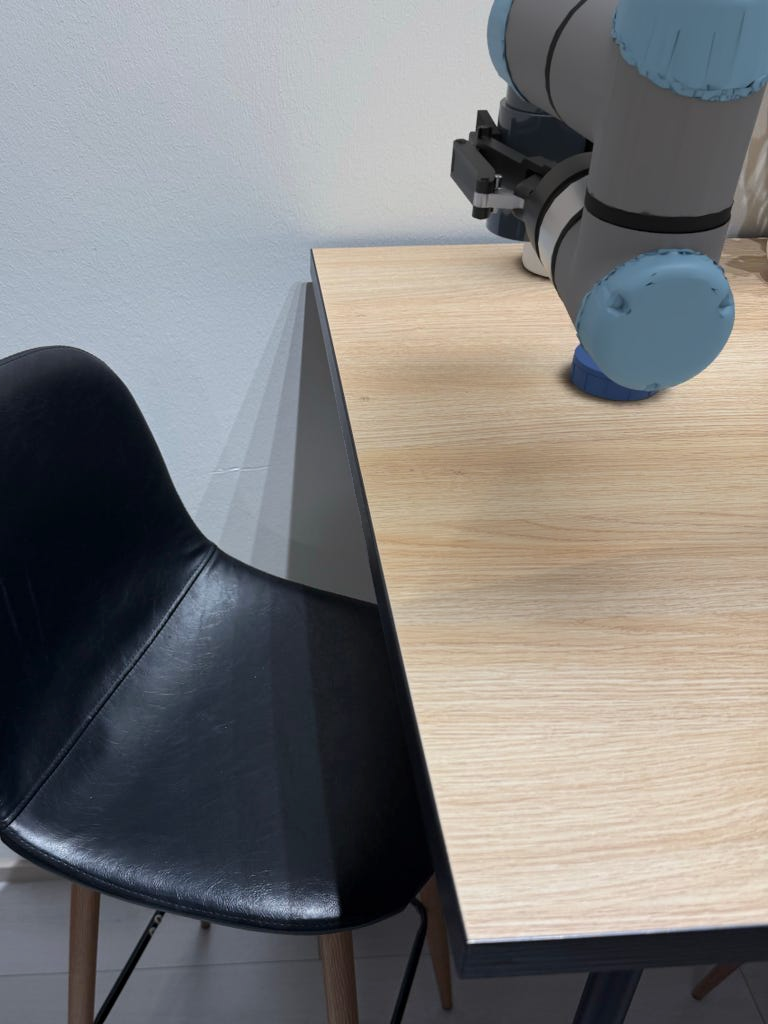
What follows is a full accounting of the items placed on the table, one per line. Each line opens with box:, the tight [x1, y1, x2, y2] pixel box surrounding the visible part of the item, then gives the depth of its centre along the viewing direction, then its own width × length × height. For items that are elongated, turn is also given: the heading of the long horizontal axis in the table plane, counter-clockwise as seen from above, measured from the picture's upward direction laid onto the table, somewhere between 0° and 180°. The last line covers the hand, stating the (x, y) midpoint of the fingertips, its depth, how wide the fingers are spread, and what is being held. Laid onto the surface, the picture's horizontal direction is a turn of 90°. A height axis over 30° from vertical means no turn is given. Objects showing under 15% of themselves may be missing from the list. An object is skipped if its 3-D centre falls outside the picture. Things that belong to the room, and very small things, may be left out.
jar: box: [485, 82, 587, 243], centre depth 79 cm, size 7×7×11 cm
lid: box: [569, 343, 659, 402], centre depth 87 cm, size 8×8×2 cm
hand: (527, 128), depth 83 cm, fingers closed on jar, 7 cm apart
